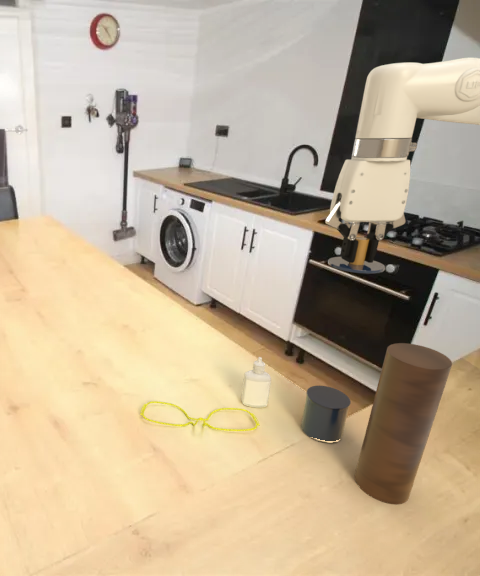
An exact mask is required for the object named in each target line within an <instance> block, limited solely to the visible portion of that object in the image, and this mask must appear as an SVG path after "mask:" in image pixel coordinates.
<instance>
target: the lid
mask: <svg viewBox="0 0 480 576" xmlns="http://www.w3.org/2000/svg"><path fill="white" fill-rule="evenodd" d="M356 240H358V242H359V243H358V248H357V252H356V257H355V261H354V262H353V263H349V262H347V261H345V260H344V259H342V257H341V256H334V257H330V258H329V259H328V260H327V264H328V265H329V266H330V267H332V268H334V269H337V270H340V271H344V272H350V273H354V274H355V273H356V274H367V275H368V274H369V275H370V274H380V273H383V272H384V271H385V270H386V265H384V264H383V263H381V262H379V261H376V260H373V262H372V263H368V262H366V261H365V257H366V253H367V248H368V244H369V239H368V238H365V237H364V236H356Z"/></svg>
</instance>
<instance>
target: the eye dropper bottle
mask: <svg viewBox="0 0 480 576" xmlns="http://www.w3.org/2000/svg"><path fill="white" fill-rule="evenodd" d="M265 370H266V363H265V362H264V361H263V358H262V356H258V358H257V360H254V361H253V364H252V369H251V370H248V371H245V372H244V374H243V381H242V388H241V389H242V390H241V396H240V397H241V399H240V400H241V403H242V405H244V406H247V407H250V408H255V409H256V408H257V409H261V408H267V407H268V404H269V399H270V392H271V385H272V377H271V375H270V374H269V372H267V371H265Z"/></svg>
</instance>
